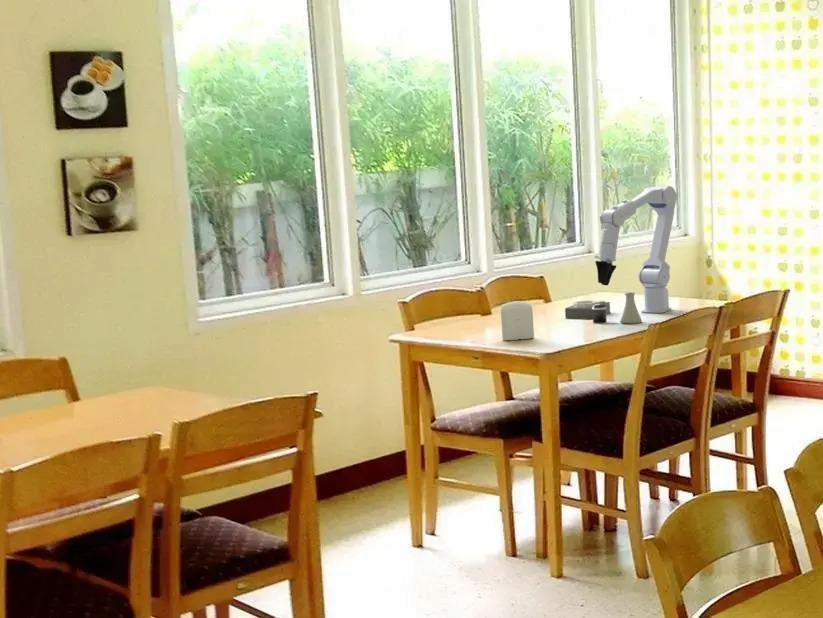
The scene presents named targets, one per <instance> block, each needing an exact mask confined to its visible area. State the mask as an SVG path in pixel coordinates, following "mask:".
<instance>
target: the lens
mask: <svg viewBox="0 0 823 618" xmlns="http://www.w3.org/2000/svg"><path fill="white" fill-rule="evenodd" d="M592 310H593V319H592V323H593V322H594V323H593V324H604V323H607V314H606V304H601V303H600V304H593V305H592Z"/></svg>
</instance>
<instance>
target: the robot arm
mask: <svg viewBox="0 0 823 618" xmlns="http://www.w3.org/2000/svg"><path fill="white" fill-rule="evenodd" d="M677 198H678V194H677V192H676V190H675V188H674V187H673V186H671V185H667V186H653V185H650V186H648V187H647V188H644V189H643V191H642V192H640V193H639V194H638V195H637V196H635V197H634V198H632V199H631V200H630V199H626V198H625V199H622V200H621V202H620V203H619V204H617V205H613V206H612V207H611V209H605V210H603V212H602V213H601V215H599V220H600V221H599V222H600V225H601V226H600V230H601V235H600V242H599V243H600V244H599V249H598V255H595V256H594V259H599V260H595V266H596V269H597V282H598V284H601V285H602V286H609V284H610V281H611V278H612V275H613V273H614V271H615V270H616V268H617V265H613V262H615V261H616V260H617V258H616V257H617V250H618V241H619V235H620V227H622V226H623V225H624V223H625V221H626V220H627V219H629V218H630V217H632V216H634V215H635V214H636V212H637V210H638V209H639V208H641V207H643V206H645V205H646V204H647V205H648V206H649V207H650V208H651V209H652V210H653V211H654V212H655V213H656V214H657V218H656V224H655V229H654V234H653V239H652V241H651V242H652V243H651V247H650V253H649V258H647V259H646V260H645V261H644V262H643V263H642V267H641V268H640V270H639V272H638V273H639V274H638V280H639V283H640V284H641V285H642V287H643V289H644V309H643V310H641V311H640V313H646V314H647V313H648V314H649V313H650V314H651V313H652V314H656V313H657V314H663V313H665V312H668V311H669V310H672V307H670V306H669V305H670V304H669V303H670V300H669V299H670V298H669V290H668V288H667V285H668V283H669V282H670V277H671V276H670V269H671V266H670V265H669V264H668V262H667V261H666V256H667V250H668V246H669V242H670V241H669V240H670V237H671V236H670V235H671V230H672V226H673V221H674V215H675V208H676V205H677V204H676V203H677Z"/></svg>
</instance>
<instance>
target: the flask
mask: <svg viewBox="0 0 823 618" xmlns="http://www.w3.org/2000/svg"><path fill="white" fill-rule="evenodd" d="M624 295H625V305H624V309H623V311H622V312H623V313H622V315H621V318H620V322H619V323H621V324H628V325H629V324H630V325H631V324H632V325H633V324H639V323H641V322H643V321H642V317H641V316H640V312H639V311H638V307H637V305H636V302H635V301H636V300H635V292H625V293H624Z"/></svg>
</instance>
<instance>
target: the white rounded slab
mask: <svg viewBox="0 0 823 618" xmlns="http://www.w3.org/2000/svg"><path fill="white" fill-rule="evenodd" d="M533 314H534V313H533V306H532V305H531V302H527V301H521V300H516V301H509V302H505V303H503V304H501V308H500V321H501V335H502V337H501V339H502V341H503V340H510V341H519V339H521V340H532V339H531V338H533V339H534V338H535V330H534V329H535V328H534V315H533Z"/></svg>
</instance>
